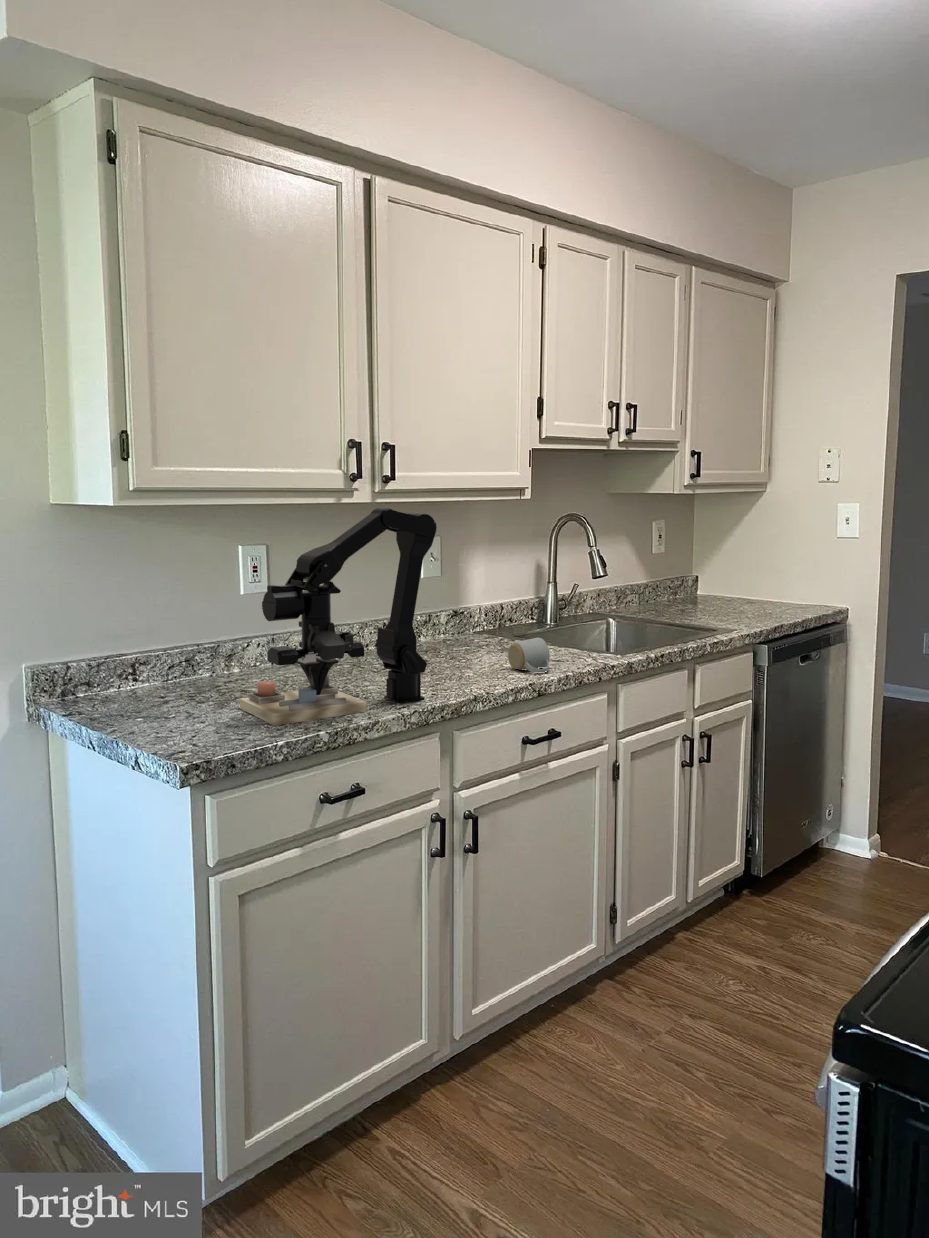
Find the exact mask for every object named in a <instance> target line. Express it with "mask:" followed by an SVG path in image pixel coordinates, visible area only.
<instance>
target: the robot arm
mask: <svg viewBox="0 0 929 1238" xmlns="http://www.w3.org/2000/svg"><path fill="white" fill-rule="evenodd" d="M387 530H388V531H389V532H393V533H396V537H395V538H396V543H397V547H398V550H399V562H398V567H397V573H396V580H395V586H394V590H393V591H394V592H393V598H392V604H391V610H390V616H389V617H390V618H389V621H388V623H387V624H386V625H385V627H384V628H381V627H378V630H377V636H376V637H377V638H376V642H375V644H374V647H375V648H376V655H377V656H378V658H379V659H380V661H381V663H382V664H383V669H385V670H387V678H386V679H385V681H386V691H385V693H386V695H384V699H386V700H390V701H392V702H395V703H398V704H404V702H405V703H411V702H417V701H423V700H426V697H425V696H423V695H422V694H421V693H422V692H421V690H422V687H421V685H422V684H421V683H422V682H421V675H422V674H424V673H425V672H426V668H427V665H428V662H427V661H426V660H425V659H424V658H423V657H422V656H421V654H419V653H418V652H417V649H418V648H417V646H418V645H417V643H418V641H417V635H416V632H415V629H414V625H413V624H414V618H415V611H416V605H417V599H418V593H419V587H420V580H421V574H422V569H423V562H424V558H425V556H426V555H427V553H428V551H429V550H430V548H432V546H433V543H434V540H435V536H436V533H437V522H436V521H435V520H434V518H433V516H431V515H430V514H427V513H415V512H413V513H411V512H408V513H406V512H401V511H398V510H393V509H392V508H389V507H376V508H375V509H373V510H372V511H371V512H370V513H369V514H368V515H367V516H365V517H364V518H363V519H361V520H360V521H359V522H358V521H357V523H355V524H354V525H353V526H352V527H350V528H349V529H348V530H346V531H344V532H343V533H342V534H341V535H339V536H337V537H336V538H335V539H333V540H332V541H331V542H328V543H326V544H324V545H321V546H318V547H315V548H312V549H311V550H308V551H307V552H304V553H302V554H300V556H299V557H297V560H296V565H295V566H296V567H295V568H294V570H293V571H292V573H291V574H290V575H289V578H288V580H286V583H285V584H284V585H274V584H272V585H269V584H268V585H267V586H266V593H264V595H263V599H262V602H261V609H262V612H263V613H262V614H263V616H264V618H265V620H266V621H267V622H276V621H277V622H278V621H279V622H280V621H287V620H288V621H289V620H298V619H299V618H300V617H301V618H300V619H301V620H299V621H298V627H300V628H301V641H299V642H298V646H299V648H297V649H296V648H294V647H292V646H288V645H281V646H271V647H269V649H268V650H267V654H266V655H267V660H266V661H267V662H268V663H271V664H274V665H277V666H289V665H290V666H291V665H296V664H297V665H300V667H301V669H302V671H303V673H304V675H305V677H306V678H307V681H308V683H309V686H311V688H312V689H314V690H316V695H320V694H321V691H322V688H323V685H324V682H325V679H326V676H327V675H329V674H328V673H329V672H330V670H331V669H332V667H333V666H334V665H335V664H339V662H340V660H341V659H344V657H345V654H347V655H348V656H349V657H350V658H361V657H363V658H364V657H365V646H364V644H363V643H362V642H360V641H358V640H354V635H353V633H352V632H351V631H345V632H344V631H343V632H341V633H336V629H335V627H336V626H335V623H334V622H332V619H331V618H332V617H331V611H332V610H331V609H332V608H331V607H332V606H331V603H332V602H331V595H332V594H340V593H341V592H342V591H341V589H340V588H339V587H337V585H335V583H334V582H333V581H332V580H333V579H334V578H335V576H337V575H338V573H339V572H341V570H342V568H343V566H344V564H345V563H346V561H347V560H348V559H349V558H351V557H352V556H353V555H354V554H356V553H357V552H359V551H360V550H361V549H362V548H365V546H366V545H368V544H369V543H370V542H372V541H373V540H374V539H376V538H377V537H379V536H380V535H381V534H383V533H384V532H385V531H387Z"/></svg>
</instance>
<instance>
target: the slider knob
mask: <svg viewBox="0 0 929 1238" xmlns="http://www.w3.org/2000/svg"><path fill="white" fill-rule="evenodd" d="M297 691H298V694H299V703H300V704H302V703H309V702H316V690H314V689H311V688H304V689H303V688H298V690H297Z"/></svg>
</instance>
